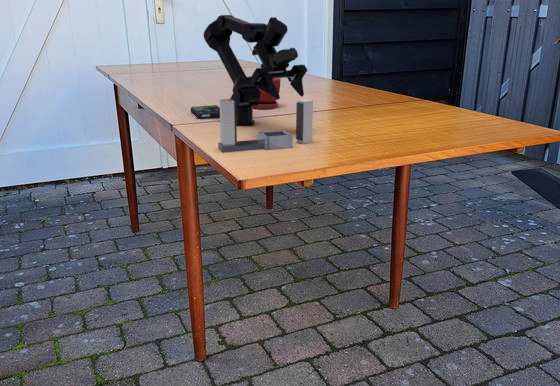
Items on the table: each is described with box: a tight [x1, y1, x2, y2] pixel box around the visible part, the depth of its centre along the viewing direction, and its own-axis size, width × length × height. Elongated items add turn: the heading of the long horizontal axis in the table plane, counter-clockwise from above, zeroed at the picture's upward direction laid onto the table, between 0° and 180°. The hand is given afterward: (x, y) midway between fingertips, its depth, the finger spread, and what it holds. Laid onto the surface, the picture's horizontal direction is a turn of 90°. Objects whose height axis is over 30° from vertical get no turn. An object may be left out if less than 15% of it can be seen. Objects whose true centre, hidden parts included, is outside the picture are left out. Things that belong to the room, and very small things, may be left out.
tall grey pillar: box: [295, 98, 314, 145], centre depth 159 cm, size 3×4×12 cm
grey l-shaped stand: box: [217, 98, 294, 153], centre depth 153 cm, size 7×20×14 cm, turn 110°
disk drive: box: [190, 104, 220, 120], centre depth 200 cm, size 10×3×15 cm
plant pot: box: [248, 75, 281, 110], centre depth 213 cm, size 13×13×12 cm
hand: (291, 97), depth 162 cm, fingers open, 9 cm apart
